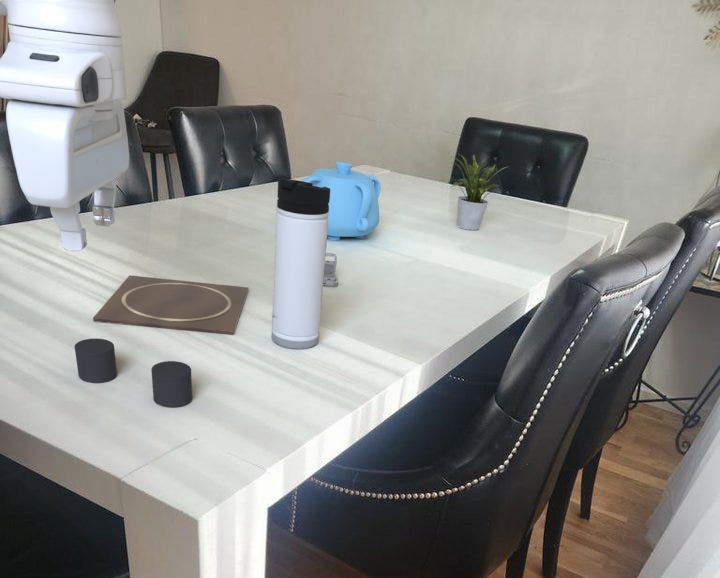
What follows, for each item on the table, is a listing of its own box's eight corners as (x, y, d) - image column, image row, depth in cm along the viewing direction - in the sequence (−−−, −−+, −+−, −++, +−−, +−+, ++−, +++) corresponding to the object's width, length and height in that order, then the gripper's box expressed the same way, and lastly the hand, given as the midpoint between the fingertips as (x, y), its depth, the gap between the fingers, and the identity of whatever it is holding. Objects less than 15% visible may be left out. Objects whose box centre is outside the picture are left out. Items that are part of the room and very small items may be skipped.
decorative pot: (363, 250, 127) (373, 175, 120) (287, 234, 130) (291, 160, 122) (383, 233, 141) (393, 164, 133) (314, 219, 143) (319, 151, 136)
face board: (93, 321, 84) (92, 316, 83) (129, 278, 99) (129, 274, 98) (233, 334, 85) (233, 330, 85) (248, 290, 100) (248, 286, 100)
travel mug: (259, 339, 85) (264, 175, 74) (291, 327, 90) (300, 171, 79) (297, 354, 83) (307, 186, 71) (327, 341, 87) (342, 181, 76)
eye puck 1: (73, 381, 70) (69, 351, 68) (85, 365, 73) (81, 336, 71) (111, 384, 70) (108, 354, 69) (121, 369, 74) (118, 340, 72)
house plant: (421, 220, 154) (433, 144, 145) (458, 217, 163) (472, 145, 154) (466, 236, 146) (481, 157, 137) (503, 231, 154) (520, 156, 145)
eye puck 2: (149, 406, 68) (147, 375, 66) (158, 388, 71) (156, 359, 69) (188, 409, 68) (187, 379, 66) (195, 391, 71) (194, 362, 69)
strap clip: (338, 287, 106) (341, 261, 104) (320, 286, 106) (322, 260, 103) (332, 271, 113) (334, 246, 111) (314, 270, 113) (316, 245, 110)
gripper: (73, 62, 64) (90, 209, 72) (-19, 72, 47) (16, 262, 55) (138, 70, 65) (148, 215, 73) (69, 82, 48) (92, 269, 56)
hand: (91, 236), depth 64 cm, fingers open, 8 cm apart
